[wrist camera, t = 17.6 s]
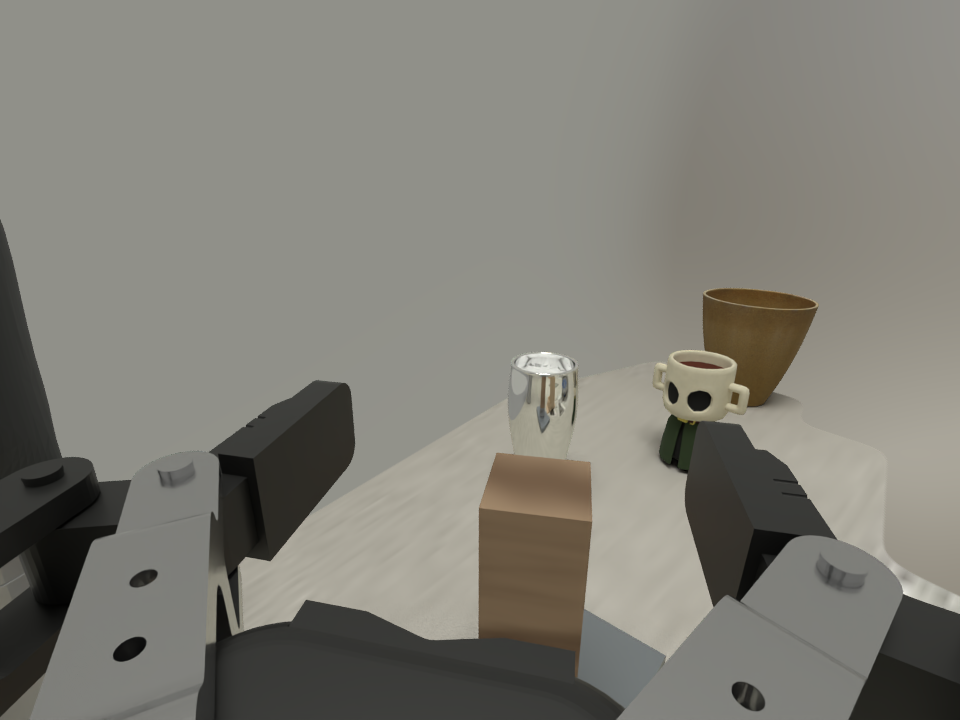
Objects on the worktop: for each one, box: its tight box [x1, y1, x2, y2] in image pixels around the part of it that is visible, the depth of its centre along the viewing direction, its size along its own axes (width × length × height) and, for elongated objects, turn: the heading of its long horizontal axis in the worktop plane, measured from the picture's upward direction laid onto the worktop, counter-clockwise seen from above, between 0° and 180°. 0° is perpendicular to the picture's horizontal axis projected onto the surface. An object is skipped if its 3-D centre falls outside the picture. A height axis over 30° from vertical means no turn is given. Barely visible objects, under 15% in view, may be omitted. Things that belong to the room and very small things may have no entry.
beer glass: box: [508, 352, 579, 460], centre depth 51 cm, size 7×7×15 cm
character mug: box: [653, 350, 750, 470], centre depth 58 cm, size 11×7×13 cm, turn 42°
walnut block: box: [479, 453, 592, 677], centre depth 27 cm, size 5×5×16 cm
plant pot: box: [703, 288, 819, 406], centre depth 75 cm, size 15×15×16 cm
